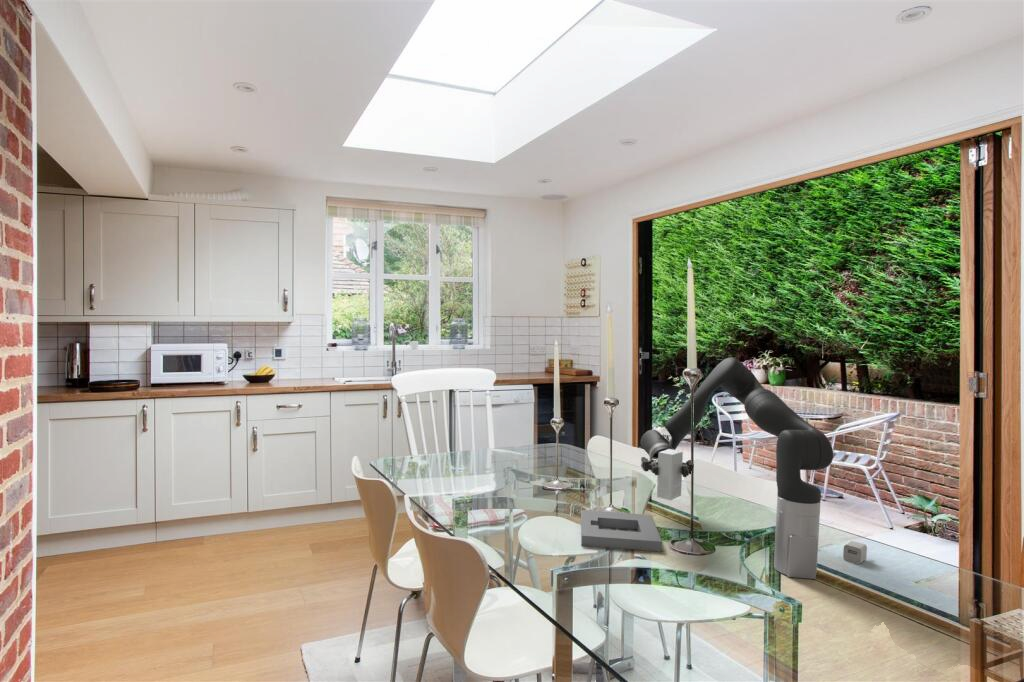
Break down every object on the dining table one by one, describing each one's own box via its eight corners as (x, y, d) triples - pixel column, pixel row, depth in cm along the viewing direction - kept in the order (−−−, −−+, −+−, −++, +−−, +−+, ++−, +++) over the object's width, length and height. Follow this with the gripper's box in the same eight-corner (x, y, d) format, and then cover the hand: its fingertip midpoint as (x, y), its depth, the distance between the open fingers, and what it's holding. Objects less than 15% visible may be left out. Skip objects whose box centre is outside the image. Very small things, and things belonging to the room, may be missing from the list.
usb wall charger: (842, 559, 154) (843, 544, 153) (852, 553, 158) (852, 538, 158) (860, 564, 151) (861, 548, 151) (869, 558, 156) (870, 542, 155)
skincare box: (666, 492, 165) (668, 448, 165) (681, 496, 163) (683, 451, 162) (655, 497, 161) (658, 451, 160) (670, 500, 158) (673, 454, 158)
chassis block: (661, 551, 154) (662, 541, 154) (581, 545, 156) (581, 535, 156) (651, 523, 176) (651, 514, 176) (580, 518, 178) (581, 509, 178)
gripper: (638, 443, 176) (643, 456, 160) (689, 446, 175) (700, 459, 158) (637, 469, 177) (642, 484, 160) (688, 472, 175) (699, 488, 158)
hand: (671, 472), depth 159 cm, fingers closed on skincare box, 6 cm apart
